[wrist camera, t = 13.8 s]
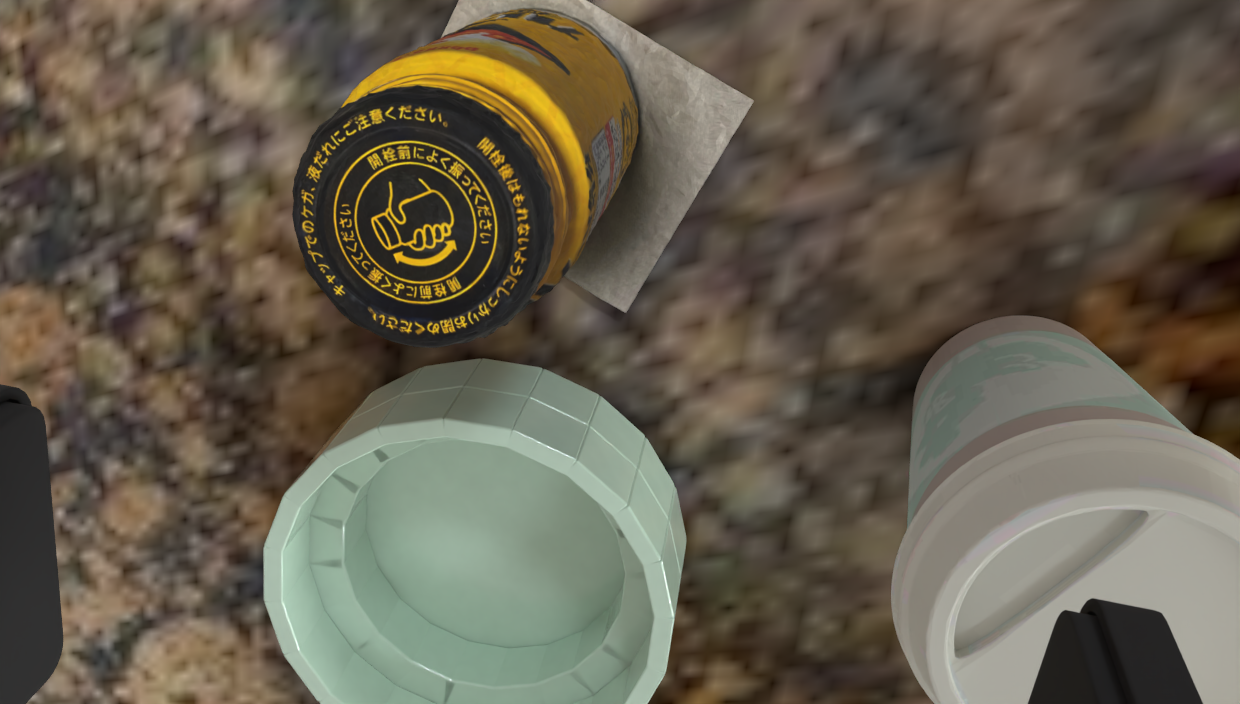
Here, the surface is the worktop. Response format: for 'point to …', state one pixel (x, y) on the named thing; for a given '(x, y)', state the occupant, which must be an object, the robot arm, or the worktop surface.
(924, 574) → the coffee cup
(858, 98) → the worktop surface
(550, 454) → the bowl
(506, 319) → the condiment
